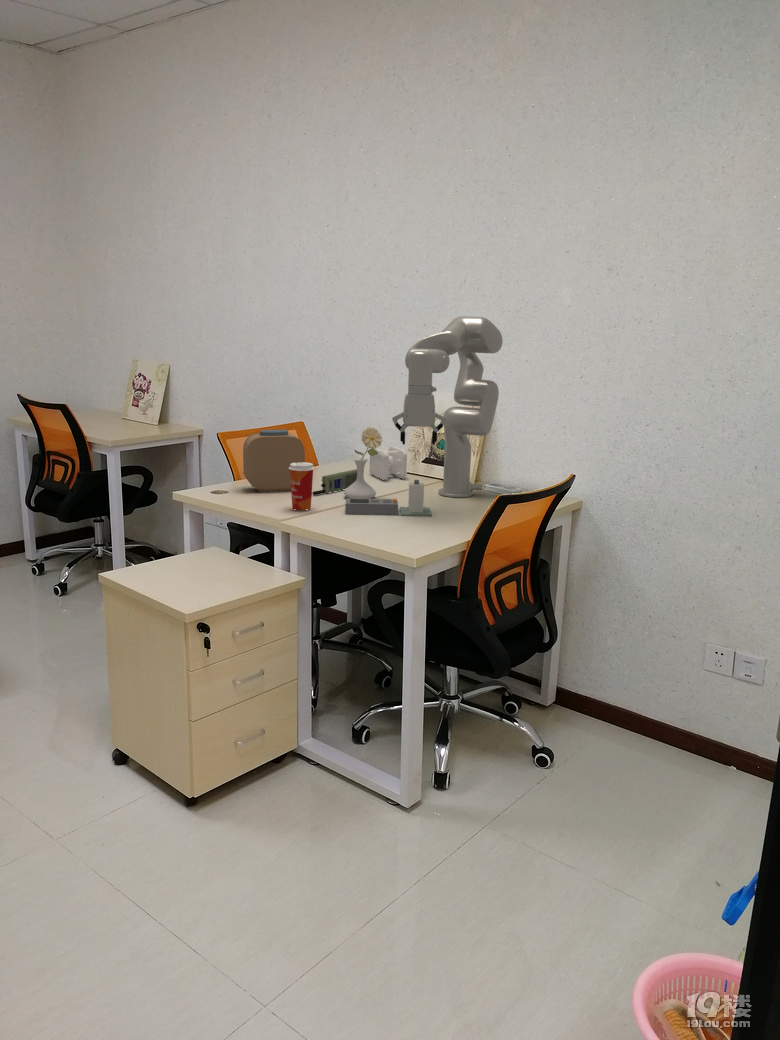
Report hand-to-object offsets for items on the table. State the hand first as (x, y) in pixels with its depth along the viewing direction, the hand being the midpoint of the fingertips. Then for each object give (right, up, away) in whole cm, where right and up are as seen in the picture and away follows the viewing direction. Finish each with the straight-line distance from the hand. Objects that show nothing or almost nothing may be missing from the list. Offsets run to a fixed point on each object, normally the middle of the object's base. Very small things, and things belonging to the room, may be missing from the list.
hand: (418, 443), depth 268 cm
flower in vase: (-19, -17, +24) cm, 35 cm away
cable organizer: (-10, -8, +60) cm, 62 cm away
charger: (-1, -21, +5) cm, 22 cm away
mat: (-1, -22, +5) cm, 23 cm away
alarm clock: (-51, -14, +33) cm, 63 cm away
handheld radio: (-29, -14, +34) cm, 47 cm away
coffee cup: (-38, -21, +6) cm, 44 cm away
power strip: (-15, -22, +5) cm, 27 cm away
